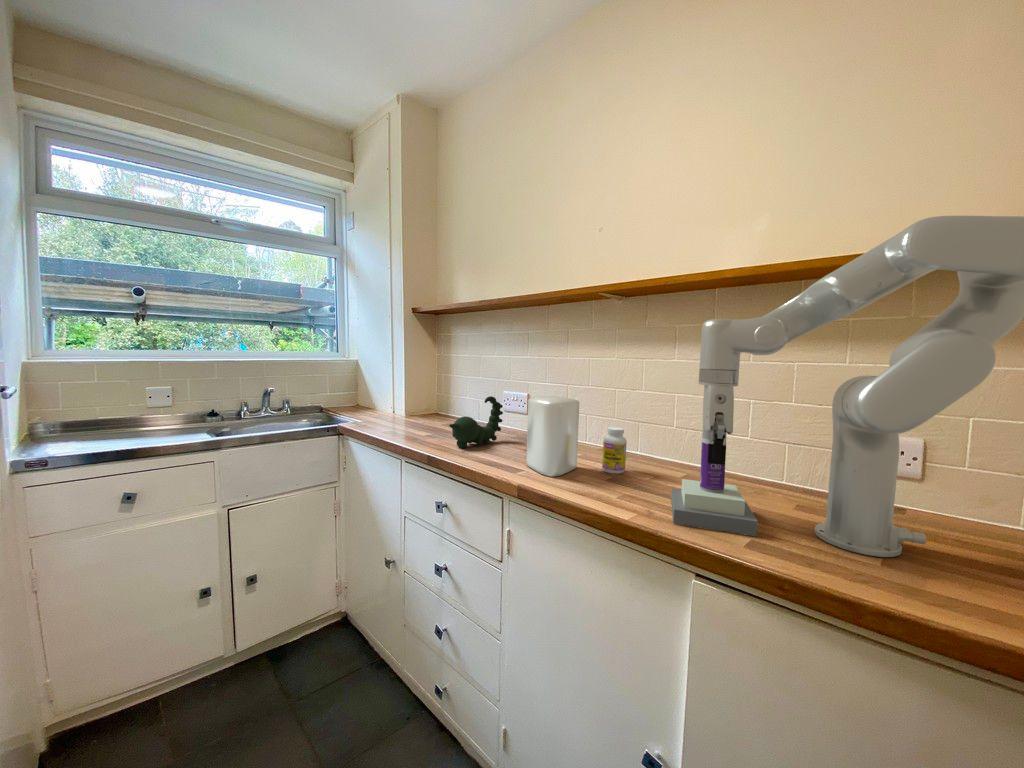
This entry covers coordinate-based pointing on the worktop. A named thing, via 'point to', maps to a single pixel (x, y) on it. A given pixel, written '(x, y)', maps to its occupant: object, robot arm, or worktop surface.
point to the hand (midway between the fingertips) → (713, 458)
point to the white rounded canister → (552, 435)
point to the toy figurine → (477, 427)
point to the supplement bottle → (614, 451)
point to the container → (710, 468)
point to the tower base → (712, 518)
